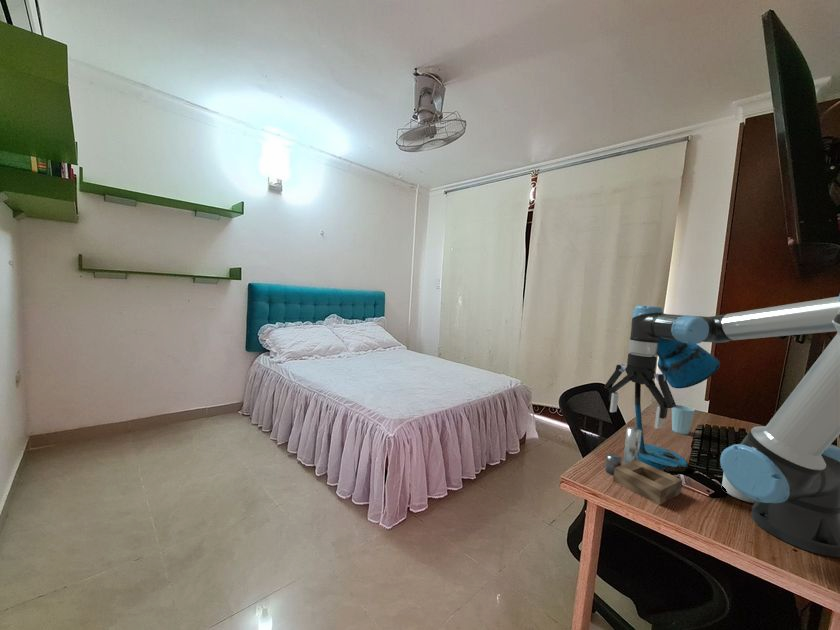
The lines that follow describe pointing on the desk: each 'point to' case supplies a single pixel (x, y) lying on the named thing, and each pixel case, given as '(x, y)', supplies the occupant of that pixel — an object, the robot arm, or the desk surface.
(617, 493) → the desk surface
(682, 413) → the cup
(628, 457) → the tall pin
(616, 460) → the stub pin
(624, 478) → the tan square frame
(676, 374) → the desk lamp
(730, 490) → the beverage can
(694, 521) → the desk surface
